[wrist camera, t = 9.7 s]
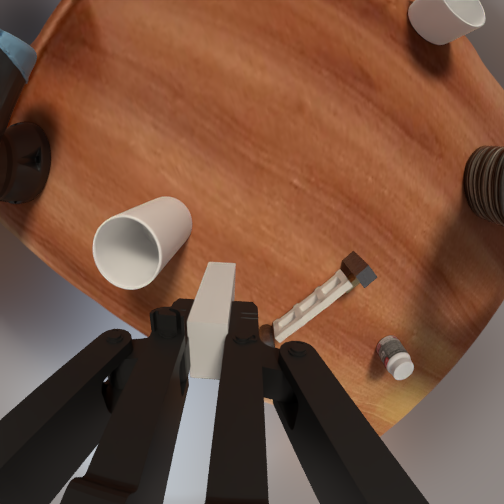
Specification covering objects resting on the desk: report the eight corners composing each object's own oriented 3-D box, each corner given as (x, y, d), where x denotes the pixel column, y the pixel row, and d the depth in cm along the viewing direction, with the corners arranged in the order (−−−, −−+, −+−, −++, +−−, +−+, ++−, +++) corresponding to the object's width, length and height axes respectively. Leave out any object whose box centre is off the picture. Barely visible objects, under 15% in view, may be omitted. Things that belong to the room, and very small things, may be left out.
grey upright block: (329, 271, 47) (341, 288, 40) (353, 250, 46) (368, 265, 39) (340, 284, 48) (353, 303, 41) (364, 264, 47) (379, 280, 40)
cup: (198, 242, 46) (171, 282, 31) (150, 253, 47) (107, 295, 31) (184, 190, 44) (147, 206, 28) (135, 204, 44) (83, 226, 29)
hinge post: (252, 329, 50) (252, 355, 43) (267, 318, 50) (268, 343, 42) (265, 341, 51) (266, 367, 44) (279, 330, 50) (282, 356, 43)
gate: (277, 326, 50) (279, 342, 45) (273, 321, 49) (274, 338, 45) (344, 274, 47) (353, 286, 42) (340, 268, 47) (348, 280, 42)
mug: (432, 53, 36) (469, 35, 25) (386, 1, 33) (414, -29, 22) (457, 36, 34) (493, 18, 23) (415, -13, 31) (444, -39, 20)
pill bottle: (373, 342, 51) (388, 369, 43) (394, 330, 50) (413, 355, 42) (379, 359, 52) (394, 386, 44) (400, 347, 52) (417, 372, 44)
